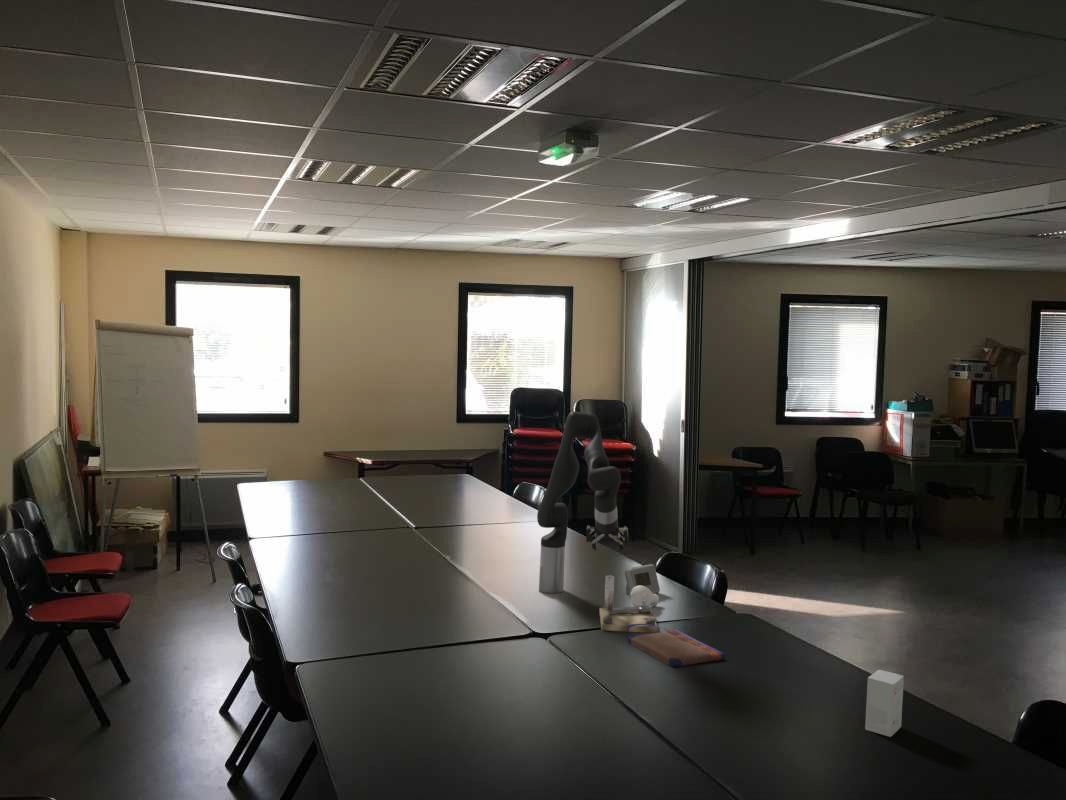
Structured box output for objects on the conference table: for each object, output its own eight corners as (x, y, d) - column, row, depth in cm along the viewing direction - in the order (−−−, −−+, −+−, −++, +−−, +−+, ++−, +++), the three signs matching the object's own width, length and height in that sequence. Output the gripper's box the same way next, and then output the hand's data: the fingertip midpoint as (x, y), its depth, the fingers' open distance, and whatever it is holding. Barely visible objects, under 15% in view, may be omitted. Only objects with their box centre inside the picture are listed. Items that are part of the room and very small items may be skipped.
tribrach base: (601, 630, 277) (601, 619, 277) (599, 613, 295) (599, 603, 295) (657, 632, 277) (657, 622, 277) (651, 616, 295) (651, 606, 295)
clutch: (674, 671, 245) (726, 661, 254) (675, 654, 245) (727, 645, 254) (619, 640, 270) (669, 632, 279) (620, 625, 270) (669, 618, 279)
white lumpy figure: (629, 583, 304) (653, 582, 311) (626, 607, 304) (650, 605, 311) (641, 588, 299) (665, 586, 306) (639, 611, 299) (662, 610, 306)
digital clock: (631, 600, 313) (632, 572, 313) (616, 594, 321) (617, 566, 321) (665, 595, 322) (667, 567, 321) (650, 589, 329) (651, 562, 329)
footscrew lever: (647, 608, 295) (649, 572, 294) (653, 612, 290) (655, 576, 290) (601, 610, 290) (603, 574, 290) (606, 615, 285) (608, 578, 285)
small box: (875, 719, 214) (878, 668, 214) (901, 727, 210) (904, 675, 210) (864, 729, 208) (867, 677, 208) (891, 737, 204) (894, 684, 204)
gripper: (628, 508, 284) (629, 541, 294) (585, 506, 287) (588, 540, 297) (627, 524, 279) (628, 558, 288) (583, 522, 281) (586, 556, 291)
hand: (608, 549), depth 292 cm, fingers open, 8 cm apart
